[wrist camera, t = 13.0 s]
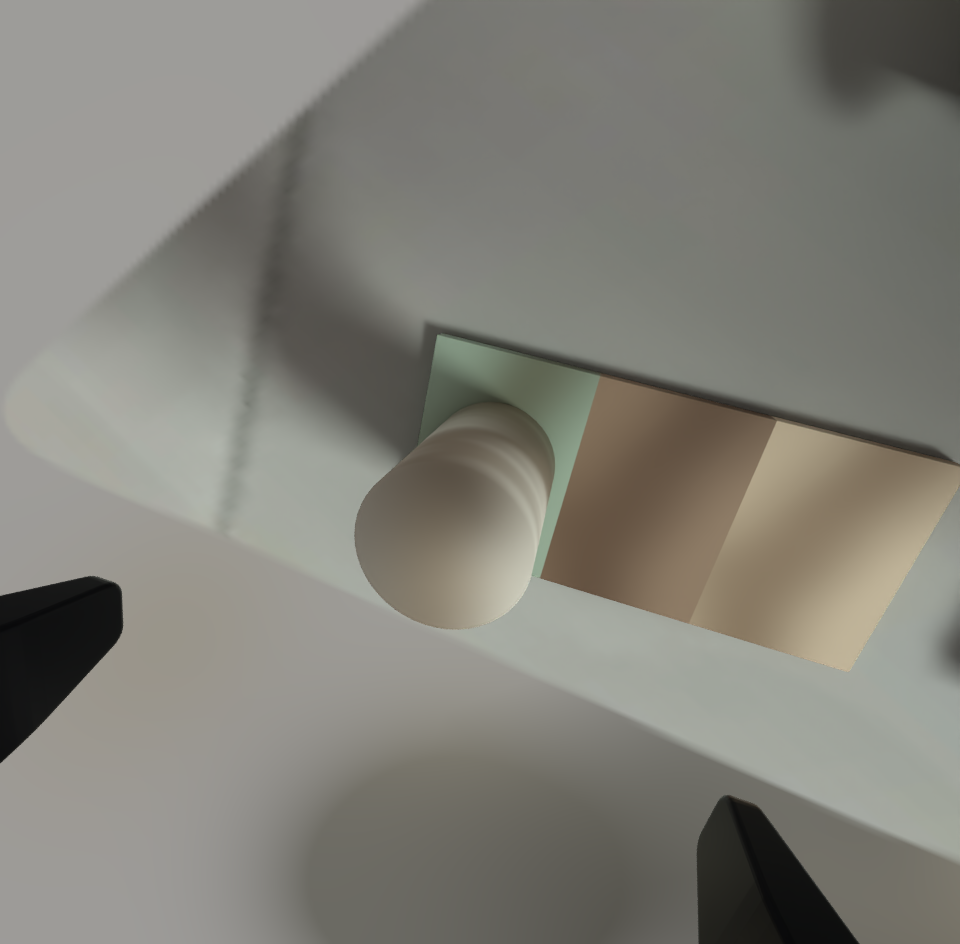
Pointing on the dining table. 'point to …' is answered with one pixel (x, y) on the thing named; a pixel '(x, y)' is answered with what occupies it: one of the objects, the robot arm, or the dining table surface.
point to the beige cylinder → (459, 518)
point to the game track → (709, 503)
